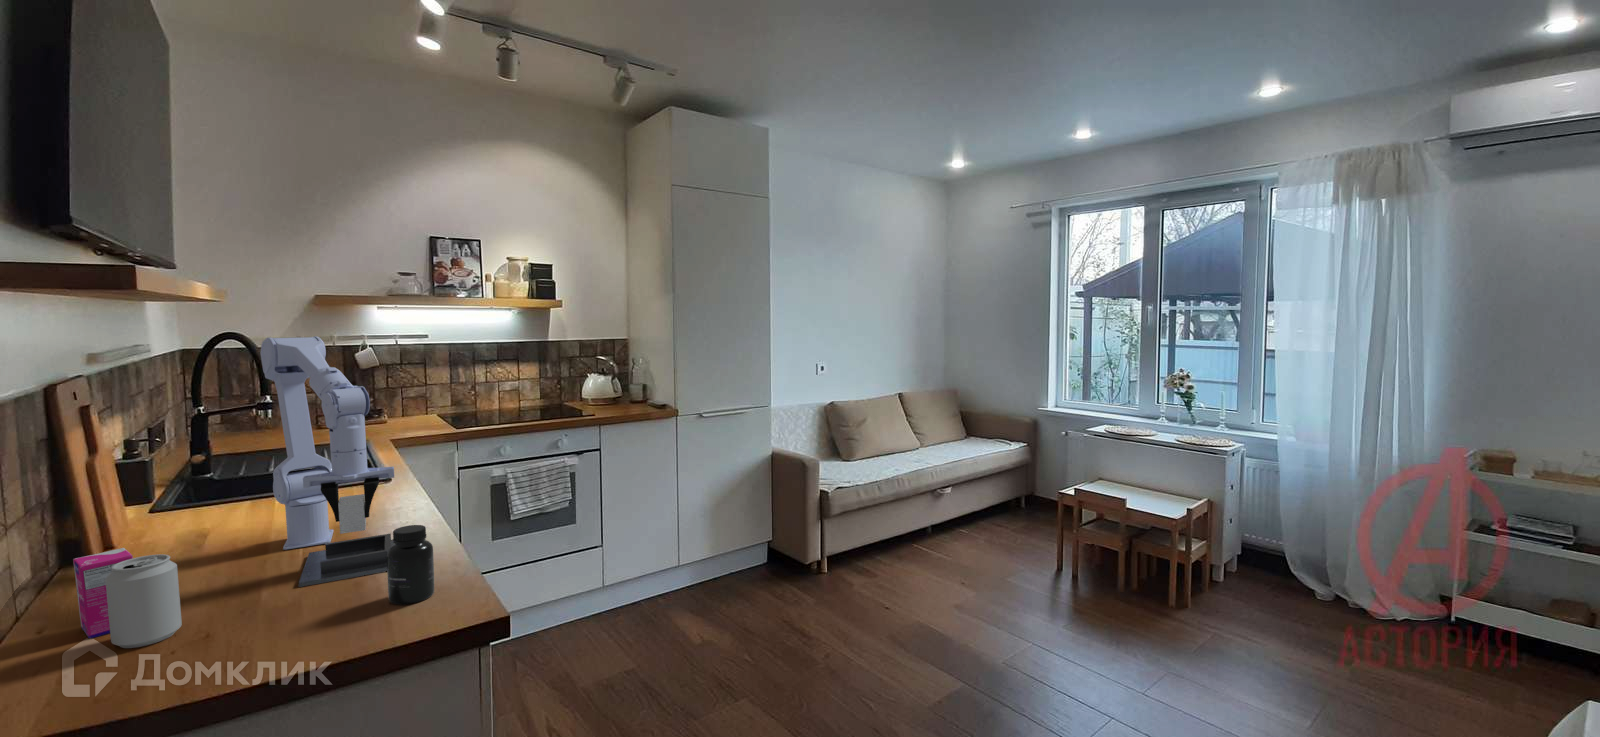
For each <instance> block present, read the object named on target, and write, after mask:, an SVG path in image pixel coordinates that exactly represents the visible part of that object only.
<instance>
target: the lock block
mask: <svg viewBox="0 0 1600 737" xmlns="http://www.w3.org/2000/svg"><path fill="white" fill-rule="evenodd" d="M338 508H339V534H340V535H341V534H348V533H355V532H362V531H366V528H367V527H366V526H367V518H365V495H364V493H360V494H355V495H346V496H340V497H339V502H338Z"/></svg>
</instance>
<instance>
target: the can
mask: <svg viewBox="0 0 1600 737" xmlns="http://www.w3.org/2000/svg"><path fill="white" fill-rule="evenodd" d="M111 570H113V571H112V572H111V573H110V574H109V575H108V576H107V578H106V579H105V581H106V592H107V603H108V614H109V625H110V633H109V635H110V642H111V644H112V645H115V646H119V648H123V649H132V648H133V649H134V648H140V647H141V648H142V647H146V646H150V645H153V644H156V643H158V642H159V643H160V642H162V641H164V640H166V639H168V638H170V637H172V636H173V635H174V634H175V633H176V632H177V631H178V630H179V629H180V628H181V627H182V624H183V623H182V622H183V621H182V610H181V609H182V608H181V598H180V597H181V595H180V586H179V583H180V582H179V572H178V564H177V563H176V562H174V561H172V560H171V556H170V555H169V554H164V553H163V554H162V553H161V554H159V553H158V554H149V555H141V556H138V557H133V558H132V559H129V560H125V561H122V562H119V563H117V564H115V565H113V566H112V567H111Z"/></svg>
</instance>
